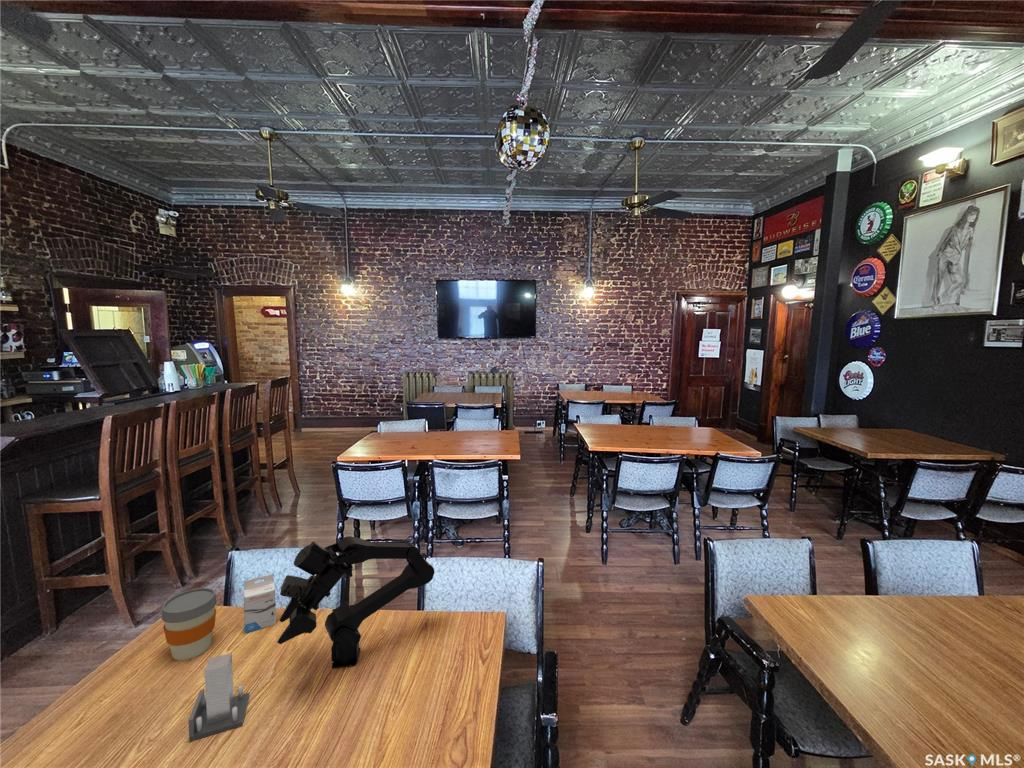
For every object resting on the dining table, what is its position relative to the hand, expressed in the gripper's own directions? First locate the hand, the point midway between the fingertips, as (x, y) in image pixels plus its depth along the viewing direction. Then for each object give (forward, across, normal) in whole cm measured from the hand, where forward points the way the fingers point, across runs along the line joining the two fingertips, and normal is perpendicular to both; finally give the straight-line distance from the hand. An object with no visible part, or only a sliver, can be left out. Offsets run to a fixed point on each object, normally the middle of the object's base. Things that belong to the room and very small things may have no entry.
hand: (279, 631), depth 108 cm
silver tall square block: (+17, +7, 0) cm, 19 cm away
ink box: (+15, -28, +5) cm, 32 cm away
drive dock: (+18, +7, +1) cm, 19 cm away
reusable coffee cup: (+26, -24, -7) cm, 37 cm away
